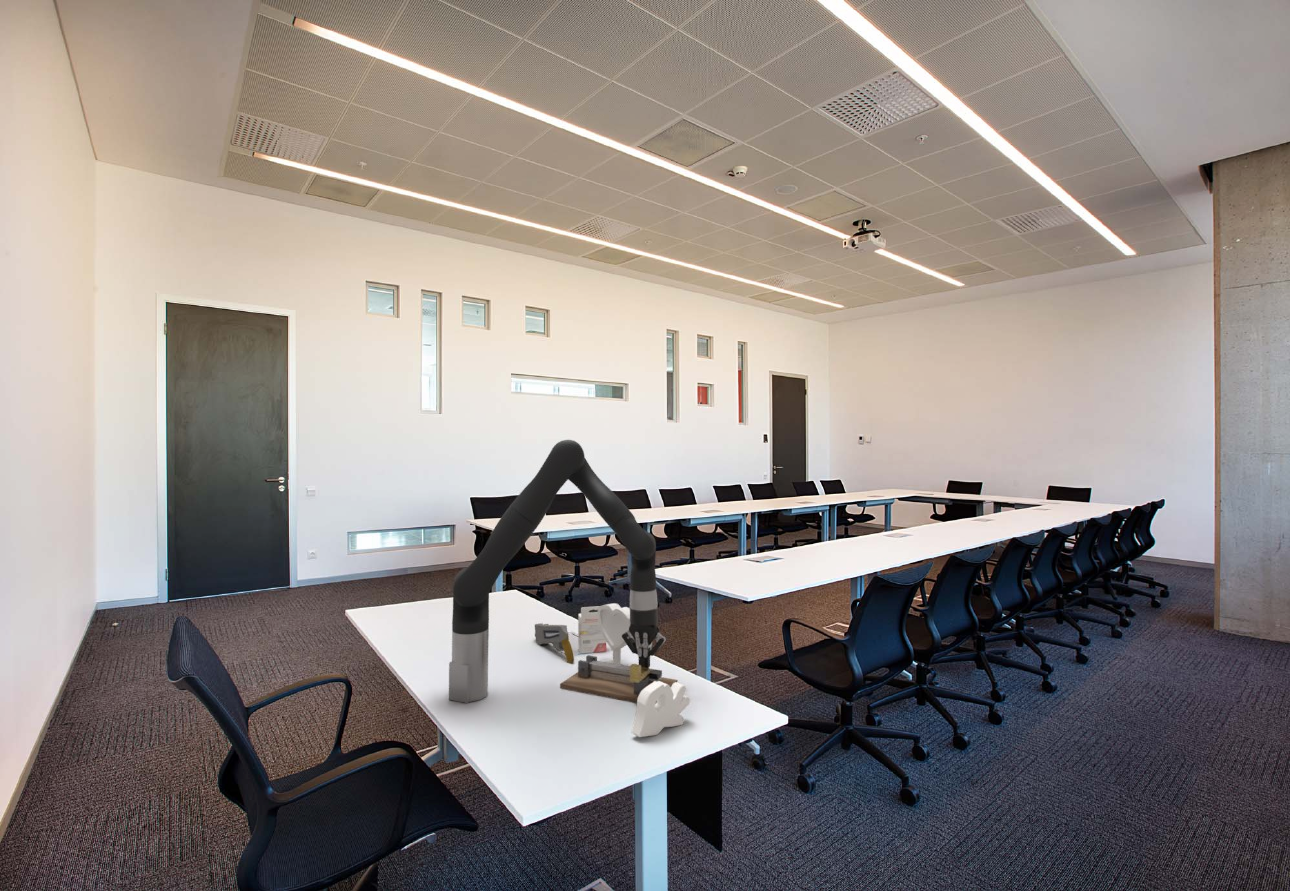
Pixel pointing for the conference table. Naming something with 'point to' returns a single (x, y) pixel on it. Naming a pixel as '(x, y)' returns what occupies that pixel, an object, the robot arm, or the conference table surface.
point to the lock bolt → (638, 673)
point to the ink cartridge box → (590, 632)
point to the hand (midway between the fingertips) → (644, 669)
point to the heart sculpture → (614, 628)
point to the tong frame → (611, 675)
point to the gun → (555, 638)
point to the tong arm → (620, 669)
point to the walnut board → (605, 687)
